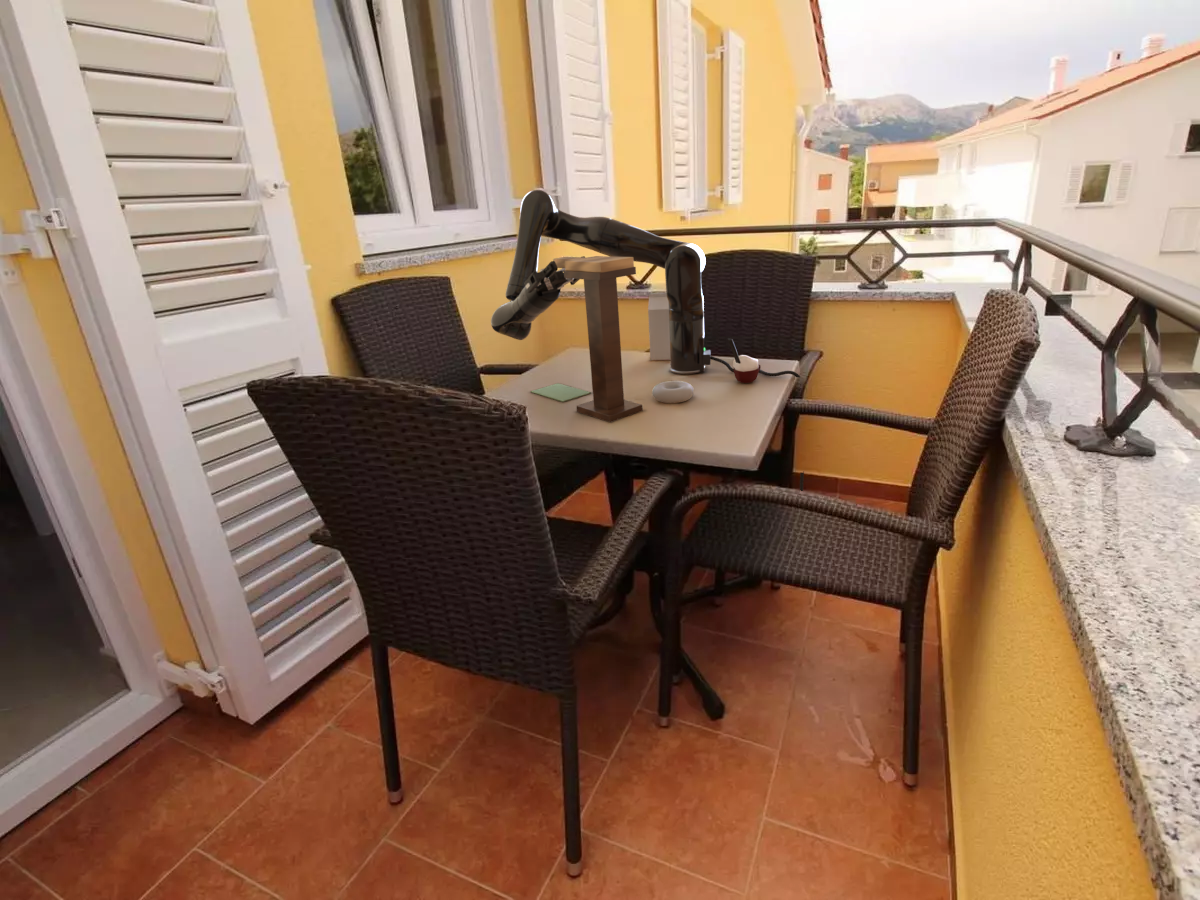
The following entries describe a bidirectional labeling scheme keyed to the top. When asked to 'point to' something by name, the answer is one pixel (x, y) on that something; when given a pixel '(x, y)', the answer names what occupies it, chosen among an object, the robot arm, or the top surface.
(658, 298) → the milk carton
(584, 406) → the stand
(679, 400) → the donut
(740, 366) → the cocoa
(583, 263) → the paddle
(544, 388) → the cloth
